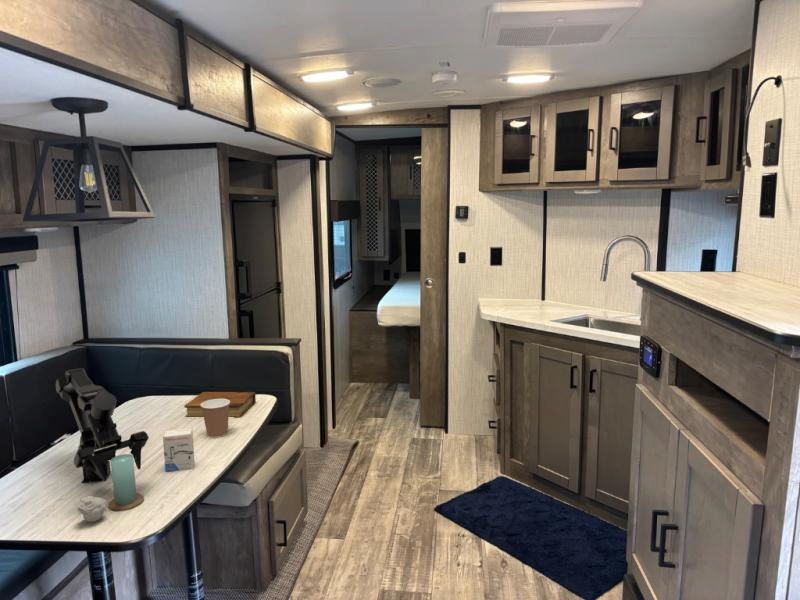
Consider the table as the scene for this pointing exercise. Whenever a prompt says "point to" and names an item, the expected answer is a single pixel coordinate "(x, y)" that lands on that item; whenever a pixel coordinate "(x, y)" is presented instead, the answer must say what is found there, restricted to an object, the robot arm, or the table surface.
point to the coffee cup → (216, 416)
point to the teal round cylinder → (123, 479)
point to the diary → (238, 400)
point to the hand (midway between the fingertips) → (123, 474)
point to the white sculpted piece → (92, 508)
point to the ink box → (178, 449)
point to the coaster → (122, 508)
